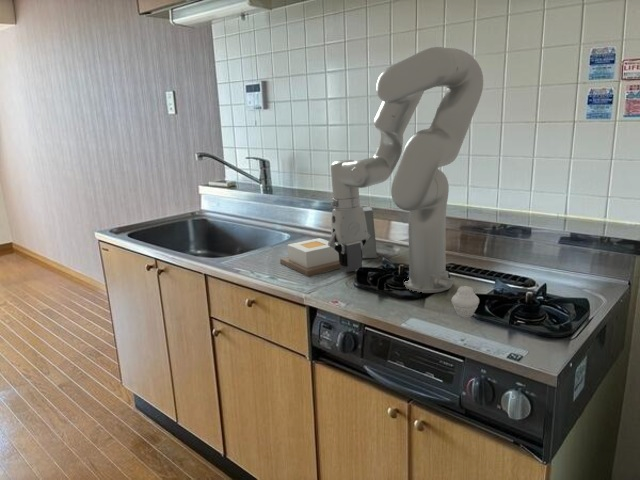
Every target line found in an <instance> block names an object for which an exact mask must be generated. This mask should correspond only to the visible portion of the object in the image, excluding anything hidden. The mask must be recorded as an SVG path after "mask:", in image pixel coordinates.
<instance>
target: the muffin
mask: <svg viewBox="0 0 640 480" xmlns="http://www.w3.org/2000/svg"><path fill="white" fill-rule="evenodd" d="M451 303H452V307H453V308H454V311H455V312H456V313H457V315H458V316H459V317H462V318H470V317H472V316H473V315H474V313H475V312H476V310H477V309H478V307H479V304H480V298H479V297H478V296H477V295H476V293H475V292H474V288H473V287H471V286H468V285H461V286H459V287H458V288H457V291H456V292H455V294H454V295H453V296H452V297H451Z"/></svg>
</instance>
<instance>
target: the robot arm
mask: <svg viewBox="0 0 640 480" xmlns="http://www.w3.org/2000/svg"><path fill="white" fill-rule="evenodd" d="M375 86H376V87H375V90H376V94H377V96H378V98H379V99H380V100H381V101H382V102H381V104H380V106H379V108H378V110H377V112H376V115H375V117H374V119H373V125H374V127H375V128H376V130H378V131H379V133H380V141H379V144H378V146H377V149H376V151H375V152H374V155H373V156H372V157H369V158H364V159H360V160H359V159H358V160H353V159H343V160H336V161H333V162H332V163H331V165H330V173H331V185H332V186H331V187H332V201H331V202H330V207H331V208H333V209H332V211H331V222H330V225H331V226H330V228H331V229H330V231H331V232H330V233H331V236H330V238H329V240H328V241H329V242H328V246H330V247H332V248H333V249H335V250H336V251H337V252H338V253H339V263H340V265H342V266H344V267H347V254H346V253H345V248H346V244H349V243H353V242H357V241H361V257H362V249H363V246H364V244H365V243H366V241H367V240H368V239H369V237H370V234H369V233H368V232H367V225H366V219H365V214H364V210H363V206H362V205H361V203H360V190H359V189H360V188H361V189H363V188H368V187H372V186H375V185H378V184H381V183H384V182H385V181H387V180H388V179H390V177H391V175H392V173H393V172H394V170H395V169H396V171H395V173H394V176H393V180H392V183H391V190H390V191H391V192H390V194H391V198H392V201H393V202H394V205H395V206H397V208H399V209H401V210H402V211H406V212H409V213H408V220H407V221H408V227H407V228H408V266H409V267H408V271H409V273H408V275H409V276H408V277H409V280H408V281H405V282H404V281H403V286H404V285H405V287H406V288H405V287H404V288H405V289H407V290H408V289H409V290H408V291H411V290H412V291H411V292H414V291H417V292H416V293H420V292H422V294H435V293H441V292H445V291H447V290H449V289H451V288H452V285H455V282H456V281H455V279H454V278H452V277H451V278H450V277H449V271H448V270H446V262H447V261H446V259H447V258H446V250H447V249H446V230H447V229H446V227H447V225H446V224H447V221H446V220H447V217H446V216H447V205H448V198H449V192H450V191H449V190H450V189H449V186H450V185H449V181H448V177H447V176H446V174H445V173H444V172H443V171H442V170H441V169H439V168H442V167H445V166H448V165H450V164H451V163H453V162H454V161H455V160H456V159H457V157H458V155H459V153H460V150H461V148H462V145H463V143H464V141H465V140H464V139H465V138H466V135H467V133H468V130H469V128H470V125H471V123H472V119H473V117H474V115H475V112H476V110H477V107H478V106H479V105H478V104H479V102H480V100H481V97H482V93H483V89H484V75H483V71H482V68H481V66H480V64H479V62H478V61H477V60H476V59H475V58H474V56H472V55H471V54H470V53H468V52H467V51H464V50H462V49H459V48H455V47H454V48H453V47H443V46H433V47H428V48H426V49H424V50H422V51H419V52H417V53H415V54H413V55H410V56H409V57H407V58H405V59H403V60H401V61H398V62H397V63H395V64H394V63H393V64H392V65H390V66H389V67H387V68H386V69H384V70H383V71H382V72H381V73H380V75H379V76H378V79H377V81H376V85H375ZM437 87H438V88H439V87H446V93H445V94H444V96H443V97H442V98H441V100H440V102H439V104H438V106H437V109H436V111H435V114H434V117H433V119H432V121H431V123H430V126H429V127H428V128H426V129H425V128H424V129H421V130H418V131H417V132H415V133H414V134H413V135H412V136H410V138H409V139H408V141H407V142H406V144H405V146H404V133H405V131H406V129H407V128H408V127H407V126H409V124H410V121H411V119H412V117H413V115H414V113H415V111H416V109H417V107H418V105H419V103H420V100H422V96H423V95H424V93H425V91H428V90H430V89H433V88H437ZM403 146H404V148H403ZM397 164H398V165H397ZM396 166H397V168H396ZM336 244H337V245H336Z"/></svg>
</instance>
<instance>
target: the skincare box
mask: <svg viewBox="0 0 640 480" xmlns="http://www.w3.org/2000/svg"><path fill="white" fill-rule="evenodd" d="M362 207H363V206H362ZM363 210H364V214H365V219H366V225H367V232H368V233H369V234H370V237H369V239H368V240H367V241H366V243H365V244H364V246H363V249H362V259H378V252H377V251H378V250H377V241H376V229H375V221H374V209H373V207H372V206H365V207H363Z"/></svg>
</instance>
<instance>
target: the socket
mask: <svg viewBox="0 0 640 480" xmlns="http://www.w3.org/2000/svg"><path fill="white" fill-rule="evenodd" d="M313 242H318V243H321V244H324V245H323V246H318V247H314V248H307V247H304V246H302V245H303V244H308V243H313ZM328 242H329V240H326V239H324V238H320V237H318V238H313V239H307V240H303V241H298V242H294V243H289V244H287V246H286V247H287V256H285V257H282V258H279V260H280V264H282V265H284V266H286V267H288V268H290V269H292V270H294V271H296V272H298V273H300V274H303V275H305V276H306V277H310V276H311V277H312V276H313V275H314V276H315V275H318V274H321V273H326V272H331V271H335V270H338V269H341V265H340V263H339V253H338V252H337V251H336V250H335V249H333V248H332V247H330V246H328ZM335 244H336V245H337V243H335Z"/></svg>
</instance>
